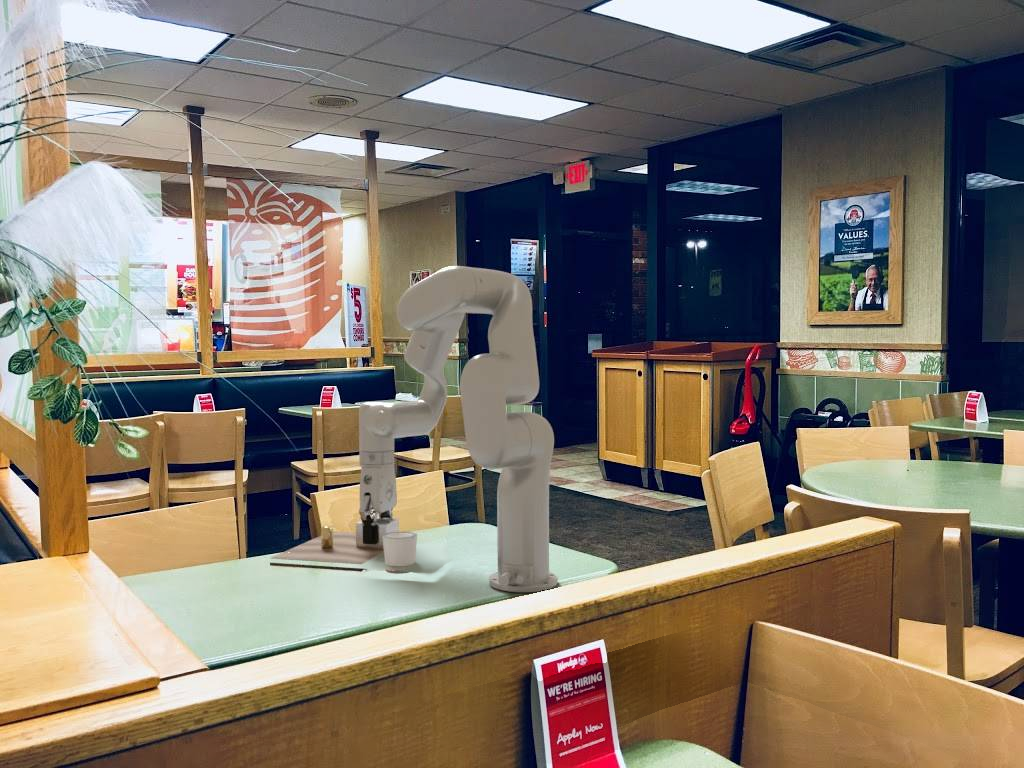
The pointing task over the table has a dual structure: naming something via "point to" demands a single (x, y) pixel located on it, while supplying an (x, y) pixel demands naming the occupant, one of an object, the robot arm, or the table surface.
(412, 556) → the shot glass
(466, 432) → the robot arm
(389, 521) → the small white box
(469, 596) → the table surface
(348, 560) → the brown flat slab
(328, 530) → the post
